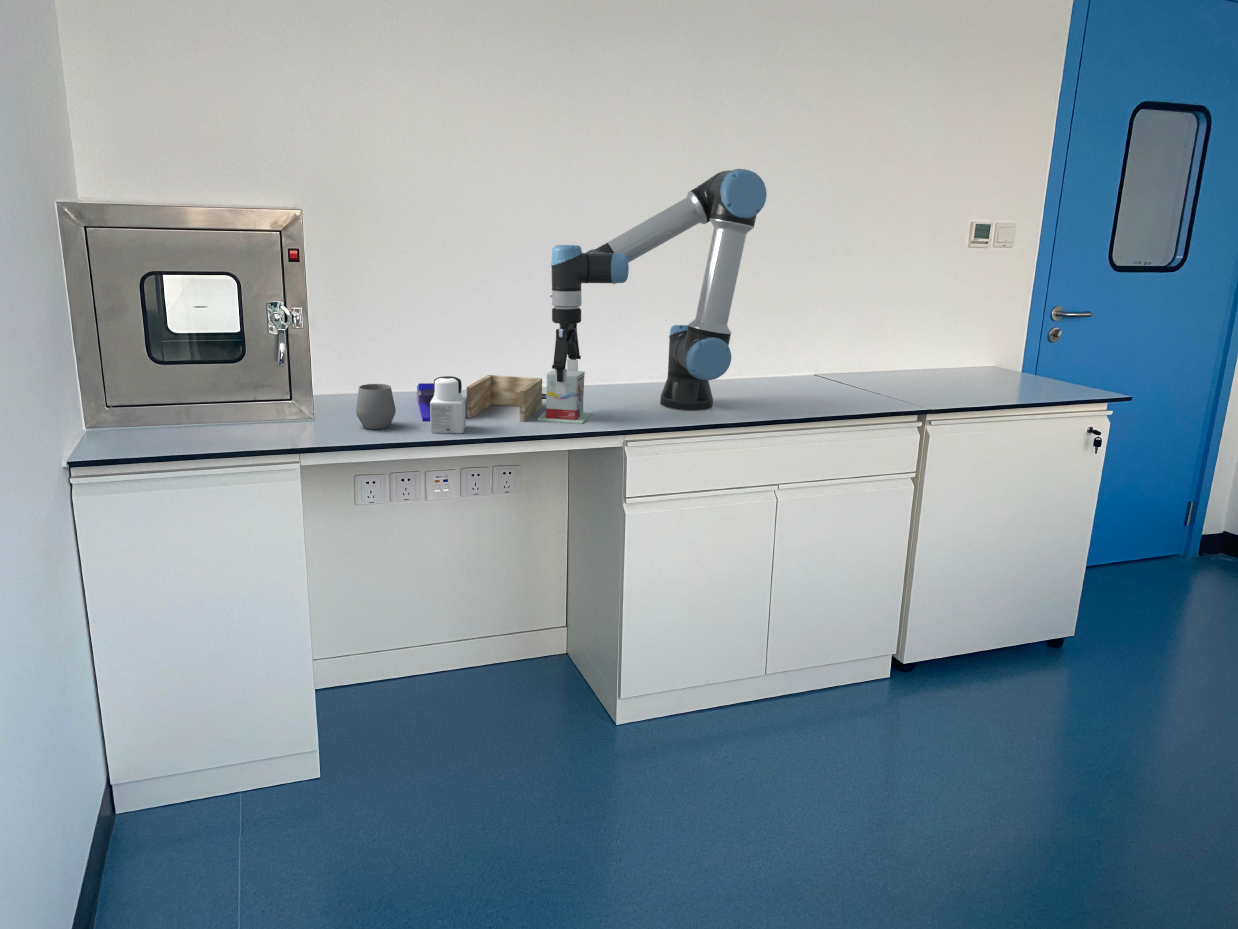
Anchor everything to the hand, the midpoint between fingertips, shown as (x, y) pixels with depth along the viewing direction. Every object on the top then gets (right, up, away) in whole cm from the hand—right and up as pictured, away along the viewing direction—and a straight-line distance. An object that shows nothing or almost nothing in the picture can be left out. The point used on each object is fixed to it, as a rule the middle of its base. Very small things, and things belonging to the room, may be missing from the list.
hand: (566, 388), depth 230 cm
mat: (-1, -7, +2) cm, 8 cm away
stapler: (-35, -5, +7) cm, 36 cm away
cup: (-46, -11, -15) cm, 49 cm away
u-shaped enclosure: (-17, -6, +5) cm, 19 cm away
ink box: (-1, -7, +2) cm, 8 cm away
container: (-28, -12, -15) cm, 34 cm away
